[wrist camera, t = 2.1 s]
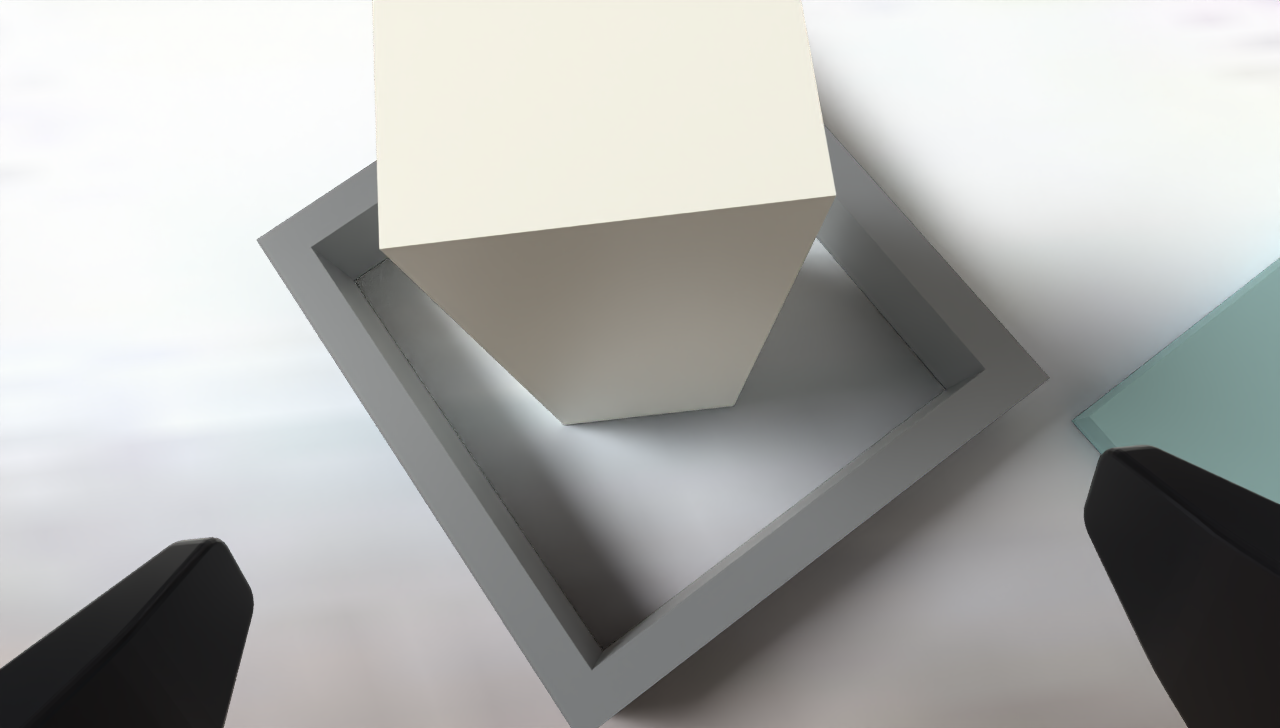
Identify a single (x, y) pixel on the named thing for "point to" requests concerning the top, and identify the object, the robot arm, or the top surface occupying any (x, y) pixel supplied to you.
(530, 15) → the block
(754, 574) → the gray square frame
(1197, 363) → the teal mat
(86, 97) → the top surface
